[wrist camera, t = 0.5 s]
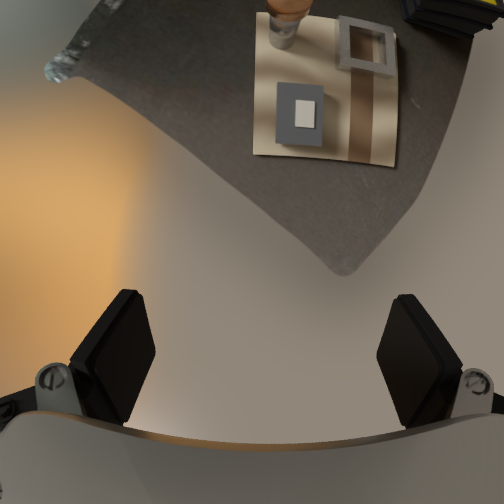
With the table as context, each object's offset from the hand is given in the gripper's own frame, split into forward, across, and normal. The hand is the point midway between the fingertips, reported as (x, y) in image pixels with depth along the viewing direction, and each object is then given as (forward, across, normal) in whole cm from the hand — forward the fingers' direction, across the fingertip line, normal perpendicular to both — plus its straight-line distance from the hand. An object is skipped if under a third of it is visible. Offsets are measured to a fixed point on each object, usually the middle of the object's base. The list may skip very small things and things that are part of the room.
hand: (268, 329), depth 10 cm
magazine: (+28, -23, -28) cm, 45 cm away
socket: (+26, -12, -19) cm, 34 cm away
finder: (+26, -4, -9) cm, 28 cm away
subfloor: (+27, -8, -14) cm, 31 cm away
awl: (+26, -2, -19) cm, 32 cm away
